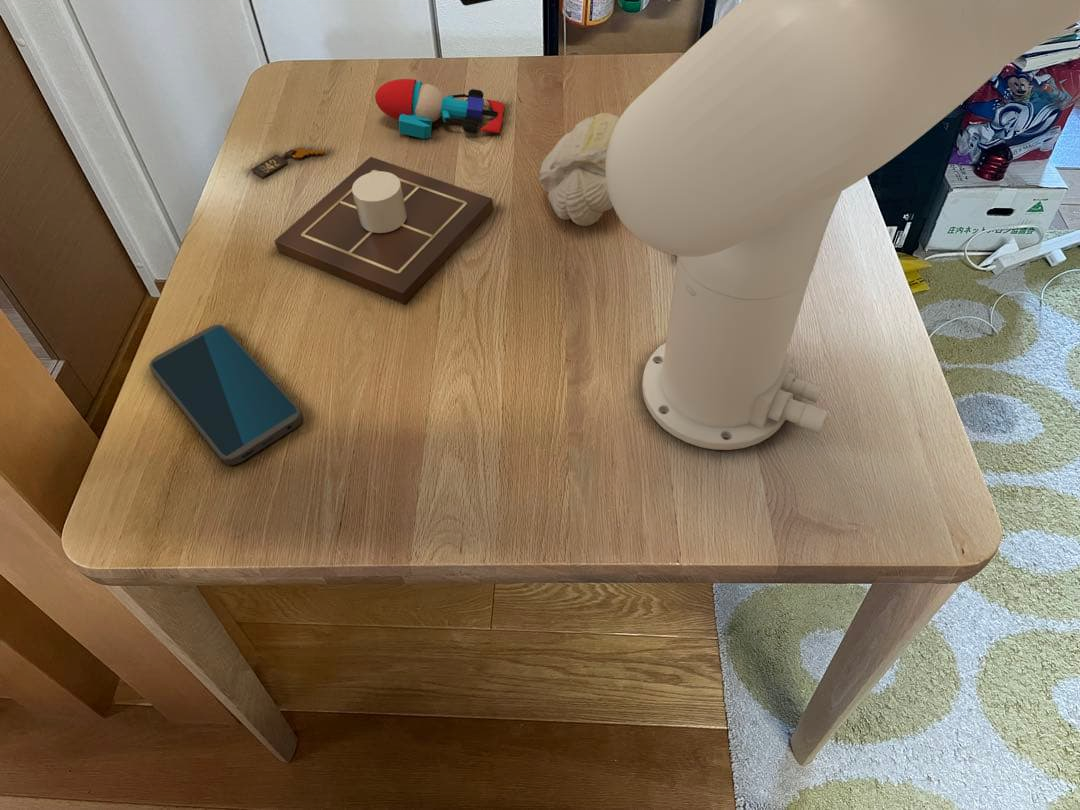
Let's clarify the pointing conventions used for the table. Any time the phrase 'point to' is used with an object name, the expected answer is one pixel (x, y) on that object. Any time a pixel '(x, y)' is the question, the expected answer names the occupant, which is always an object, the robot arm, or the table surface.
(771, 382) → the robot arm
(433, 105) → the toy figure
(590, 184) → the fossil replica
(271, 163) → the key tag
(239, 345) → the smartphone
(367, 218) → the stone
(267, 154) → the table surface
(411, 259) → the board
